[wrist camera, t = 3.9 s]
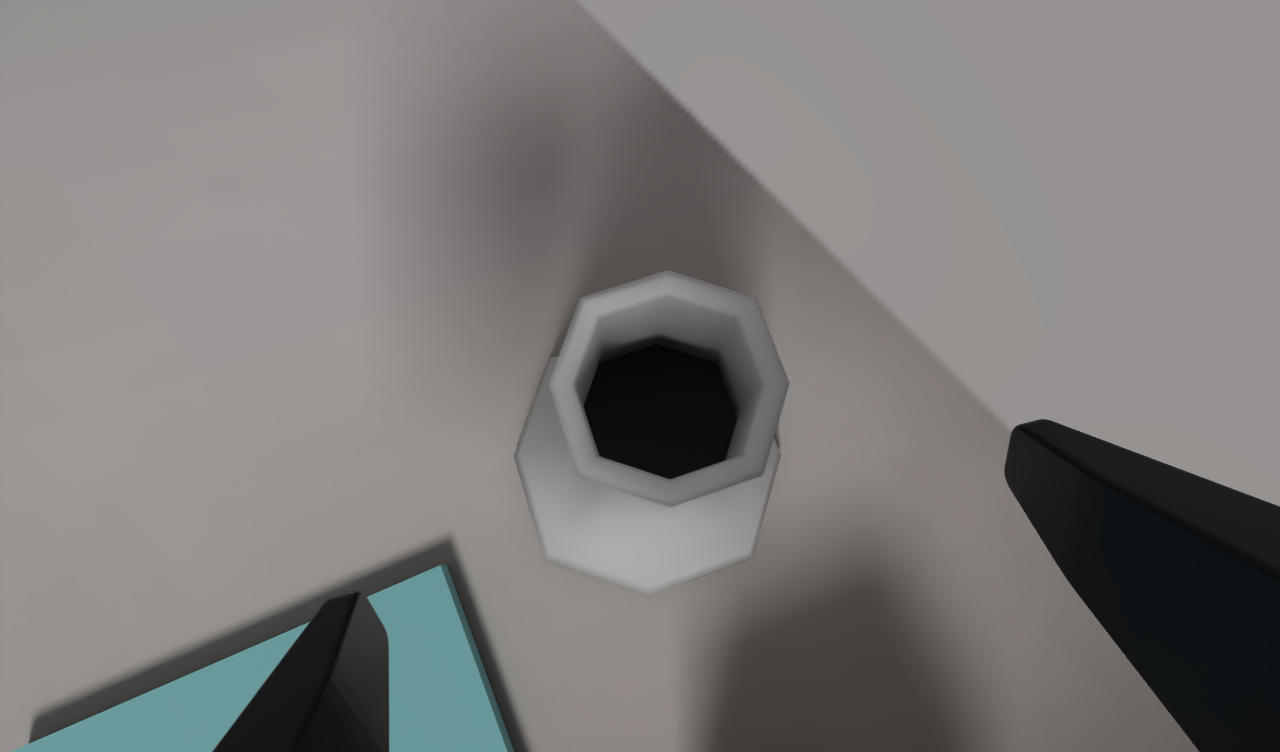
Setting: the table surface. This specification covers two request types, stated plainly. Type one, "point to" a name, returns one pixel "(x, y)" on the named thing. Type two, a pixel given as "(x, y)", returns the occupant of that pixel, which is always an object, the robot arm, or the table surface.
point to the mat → (216, 695)
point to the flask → (655, 433)
